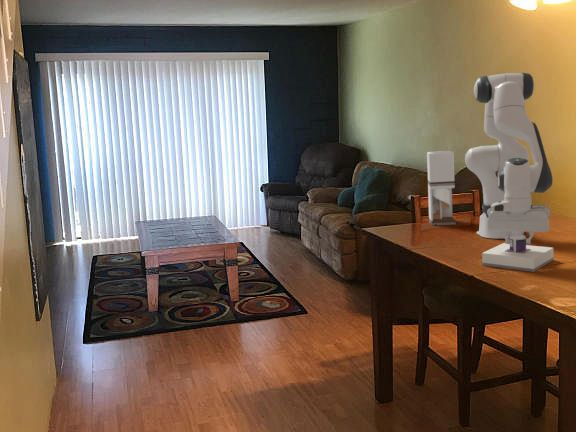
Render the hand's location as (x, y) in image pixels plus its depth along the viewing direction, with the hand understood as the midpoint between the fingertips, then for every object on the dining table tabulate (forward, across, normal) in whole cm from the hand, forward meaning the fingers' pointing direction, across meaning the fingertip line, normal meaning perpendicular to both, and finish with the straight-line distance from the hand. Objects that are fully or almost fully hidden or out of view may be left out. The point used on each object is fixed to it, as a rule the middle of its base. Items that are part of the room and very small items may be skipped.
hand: (517, 243), depth 205 cm
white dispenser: (+7, +38, -74) cm, 83 cm away
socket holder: (+7, 0, 0) cm, 7 cm away
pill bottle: (+5, 0, 0) cm, 5 cm away
